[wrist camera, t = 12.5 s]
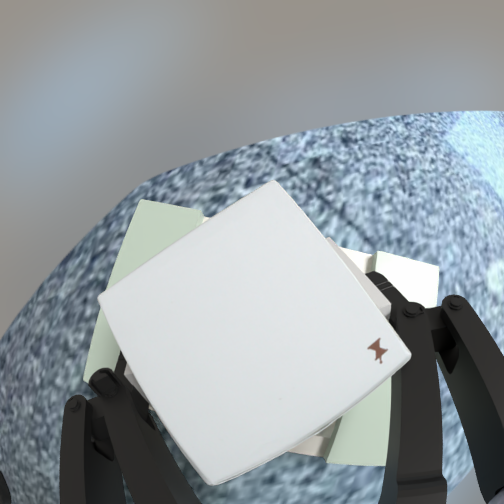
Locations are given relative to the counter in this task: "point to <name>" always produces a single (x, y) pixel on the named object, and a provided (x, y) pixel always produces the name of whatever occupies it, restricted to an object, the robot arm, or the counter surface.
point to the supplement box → (250, 335)
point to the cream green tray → (391, 266)
